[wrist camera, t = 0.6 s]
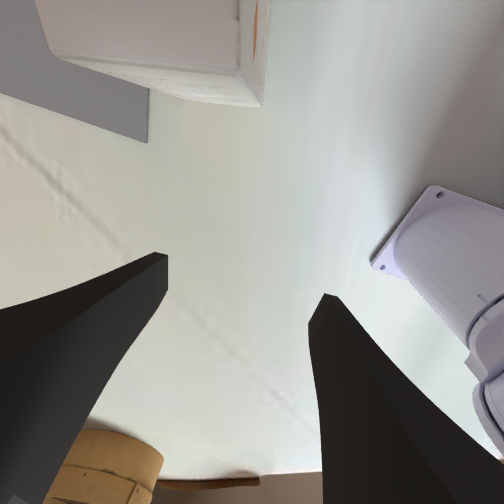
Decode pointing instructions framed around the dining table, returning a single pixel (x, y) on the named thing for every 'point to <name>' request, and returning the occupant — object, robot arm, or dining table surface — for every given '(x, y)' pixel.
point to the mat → (64, 78)
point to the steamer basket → (106, 470)
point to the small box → (167, 44)
